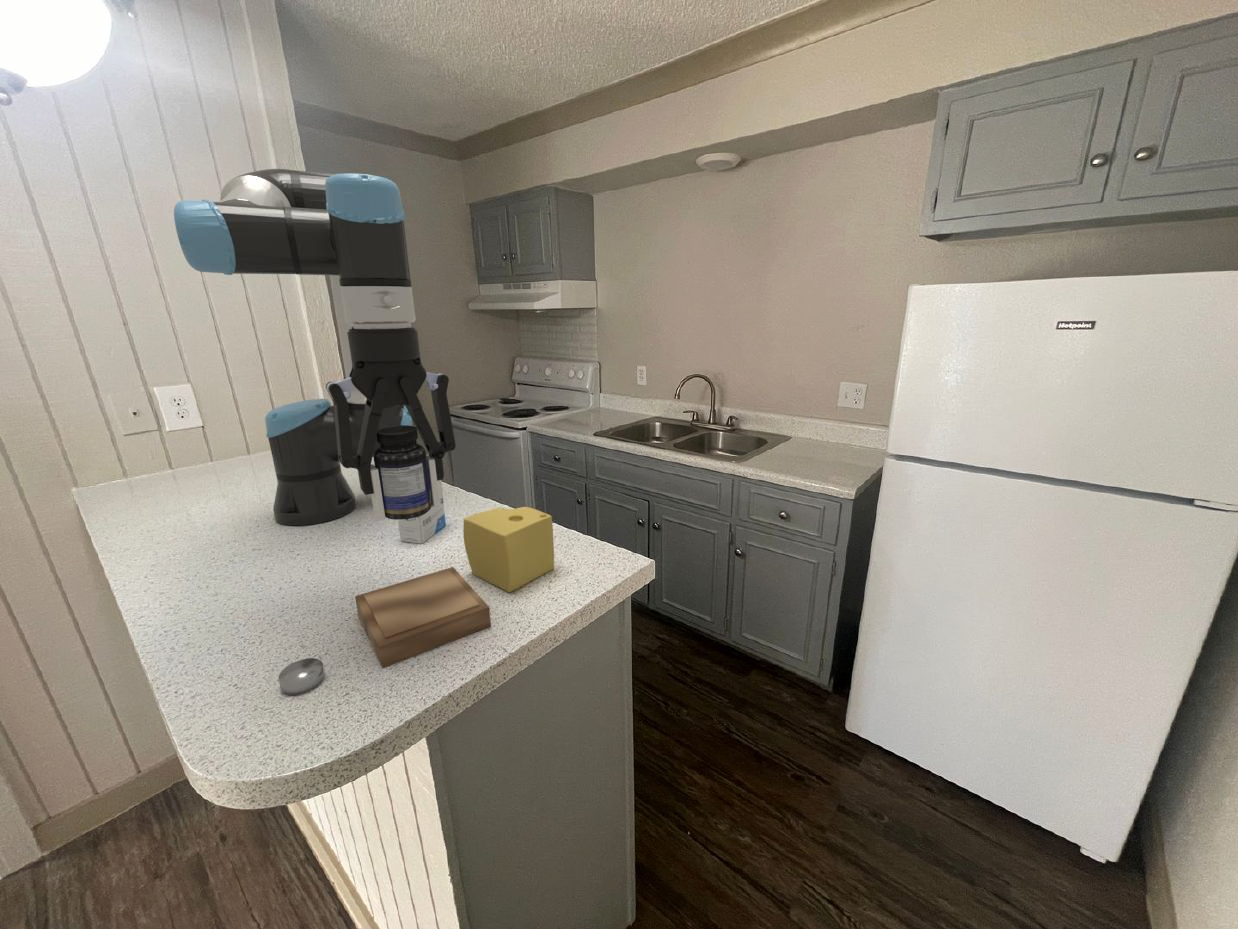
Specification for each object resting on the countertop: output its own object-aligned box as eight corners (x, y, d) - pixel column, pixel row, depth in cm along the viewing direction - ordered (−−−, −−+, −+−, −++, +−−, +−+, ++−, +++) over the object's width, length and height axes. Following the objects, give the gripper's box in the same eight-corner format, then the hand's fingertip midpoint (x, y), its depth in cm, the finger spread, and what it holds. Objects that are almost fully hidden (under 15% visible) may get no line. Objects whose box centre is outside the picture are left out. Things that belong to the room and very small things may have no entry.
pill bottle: (393, 503, 70) (381, 423, 67) (438, 502, 70) (429, 423, 67) (373, 521, 64) (360, 435, 61) (423, 521, 64) (412, 435, 61)
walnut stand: (358, 614, 73) (354, 594, 72) (454, 583, 81) (452, 565, 80) (382, 667, 63) (378, 644, 62) (490, 626, 71) (489, 605, 70)
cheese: (516, 551, 92) (512, 499, 89) (558, 570, 85) (556, 514, 82) (466, 574, 84) (460, 518, 81) (508, 596, 78) (504, 536, 75)
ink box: (425, 523, 104) (418, 468, 100) (448, 525, 103) (441, 469, 99) (399, 542, 96) (391, 482, 92) (424, 544, 95) (416, 484, 91)
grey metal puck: (280, 680, 61) (276, 668, 60) (322, 665, 63) (319, 653, 63) (283, 703, 57) (280, 689, 57) (328, 686, 60) (325, 673, 59)
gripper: (290, 330, 52) (330, 539, 59) (473, 324, 63) (488, 502, 69) (283, 327, 57) (320, 518, 64) (451, 323, 68) (468, 487, 75)
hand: (407, 509), depth 67 cm, fingers closed on pill bottle, 6 cm apart
